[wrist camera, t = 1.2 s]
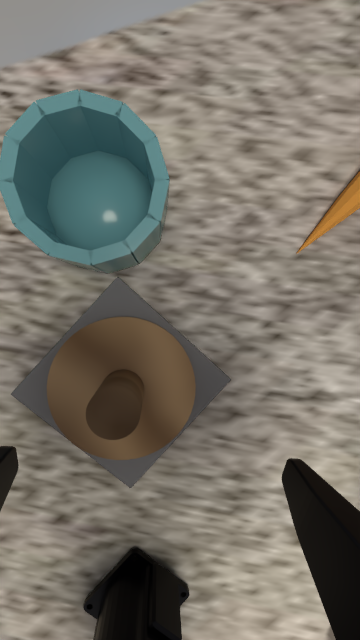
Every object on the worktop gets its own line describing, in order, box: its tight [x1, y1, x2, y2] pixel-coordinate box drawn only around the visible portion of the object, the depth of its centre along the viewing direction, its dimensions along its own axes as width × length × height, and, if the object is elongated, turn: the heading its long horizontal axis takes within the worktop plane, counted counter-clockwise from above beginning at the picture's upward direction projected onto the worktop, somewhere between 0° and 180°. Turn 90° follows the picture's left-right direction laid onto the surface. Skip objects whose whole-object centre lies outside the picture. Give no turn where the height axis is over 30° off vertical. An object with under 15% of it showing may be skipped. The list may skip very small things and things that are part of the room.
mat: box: [11, 277, 231, 488], centre depth 20 cm, size 12×12×1 cm
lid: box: [47, 317, 196, 460], centre depth 18 cm, size 11×11×5 cm
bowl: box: [0, 89, 169, 274], centre depth 17 cm, size 9×9×5 cm
